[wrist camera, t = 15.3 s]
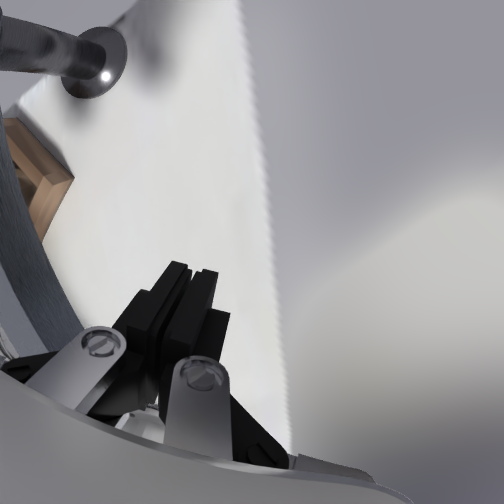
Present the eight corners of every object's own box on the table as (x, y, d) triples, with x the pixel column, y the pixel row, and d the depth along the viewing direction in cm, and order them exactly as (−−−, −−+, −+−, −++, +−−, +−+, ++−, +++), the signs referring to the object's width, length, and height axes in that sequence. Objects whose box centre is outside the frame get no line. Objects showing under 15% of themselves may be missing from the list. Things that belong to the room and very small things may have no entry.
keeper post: (94, 112, 20) (-25, 119, 9) (54, 76, 18) (-57, 71, 8) (142, 50, 18) (38, 4, 7) (96, 17, 16) (-6, -24, 6)
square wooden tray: (36, 253, 25) (18, 266, 22) (-14, 194, 23) (-33, 202, 20) (74, 178, 22) (52, 185, 19) (17, 117, 20) (-6, 119, 17)
